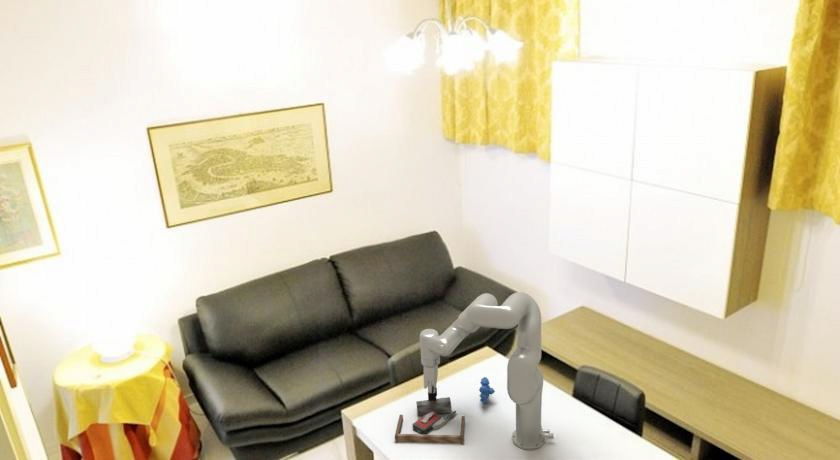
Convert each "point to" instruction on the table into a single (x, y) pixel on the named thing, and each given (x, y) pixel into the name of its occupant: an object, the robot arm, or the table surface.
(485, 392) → the grapes
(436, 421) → the walkie-talkie
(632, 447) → the table surface
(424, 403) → the scraper
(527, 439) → the robot arm
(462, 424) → the dock
